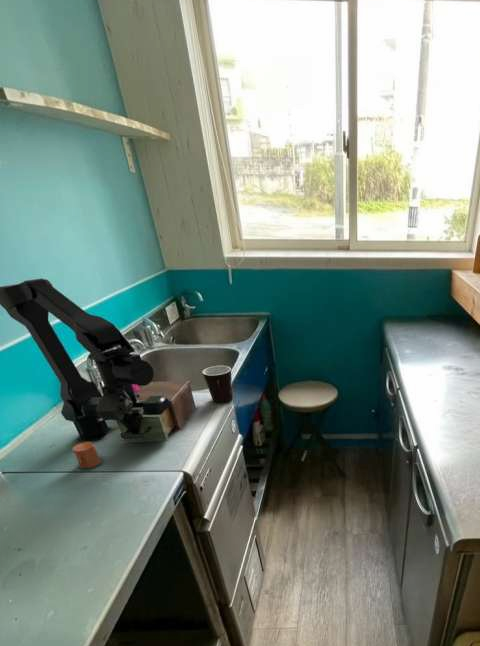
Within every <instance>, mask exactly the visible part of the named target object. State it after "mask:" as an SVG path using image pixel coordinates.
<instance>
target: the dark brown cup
mask: <svg viewBox="0 0 480 646" xmlns="http://www.w3.org/2000/svg"><path fill="white" fill-rule="evenodd" d="M202 376H203V378H204V380H205V383H206V386H207V389H208V391H209V394H210V397H211V400H212V402H213V403H214V404H218V405H219V404H220V405H221V404H227V403H230V402H232V401H233V399H234V392H233V391H234V390H233V378H232V368H231V367H230V366H228V365H214V366H210V367H207V368H205V369H203V370H202Z"/></svg>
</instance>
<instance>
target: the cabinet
mask: <svg viewBox="0 0 480 646" xmlns="http://www.w3.org/2000/svg"><path fill="white" fill-rule="evenodd" d="M139 388H140V389H139V390H138V391H137V392H135V393H136V394H139V396H140V398H139V399H138V401H141V400H144V401H146V400H147V399H148V398H149V397H150V396H165V397H166V398H167V399H168V401H169V405H170V408H171V411H172V415H173V418H174V421H175V424H176V425H175V426H174V427H173V429H172V430H171V431H180V430H182V428H183V427H184V426H185V424H186V423H187V421H188V419H189V418H190V417H191V416H192V414H193V413H194V412H195V411H196V409H197V407H196V402H195V400H194V395H193V391H192V387H191V383H190V381H189V380H182V381H181V380H175V381H173V380H171V381H170V380H169V381H167V380H166V381H165V380H164V381H151V382H150V383H149V384H148V385H146V386H140V387H139Z"/></svg>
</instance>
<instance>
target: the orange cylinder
mask: <svg viewBox="0 0 480 646" xmlns="http://www.w3.org/2000/svg"><path fill="white" fill-rule="evenodd" d="M72 451H73V453H74V456H75V458H76V461H77V463H78V465H79V466H80V467H81V469H93V468H95V467H97V466H98V465H100V464H101V462H102V460H101V458H100V455H99V453H98V451H97V449H96V447H95V444H94V443H93V442H91V441H85V442H80V443H78V444H76V445H74V446H73V447H72Z"/></svg>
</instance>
